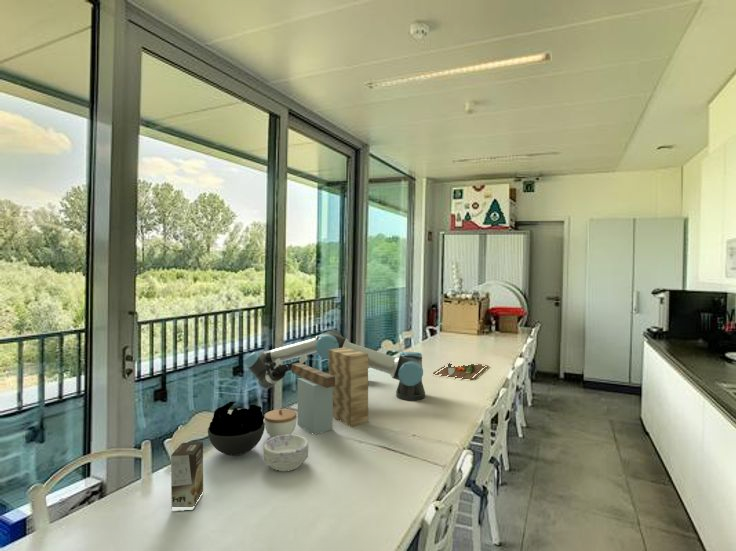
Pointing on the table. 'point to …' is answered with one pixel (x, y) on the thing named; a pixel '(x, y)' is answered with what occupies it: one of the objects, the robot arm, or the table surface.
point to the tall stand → (349, 385)
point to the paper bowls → (285, 452)
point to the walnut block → (313, 375)
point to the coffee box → (187, 474)
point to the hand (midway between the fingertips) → (293, 358)
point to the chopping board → (462, 371)
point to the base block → (314, 406)
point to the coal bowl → (236, 429)
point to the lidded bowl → (280, 422)
